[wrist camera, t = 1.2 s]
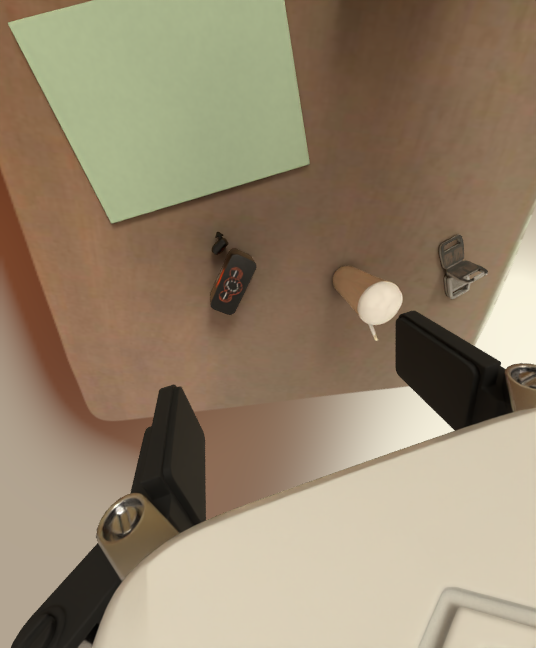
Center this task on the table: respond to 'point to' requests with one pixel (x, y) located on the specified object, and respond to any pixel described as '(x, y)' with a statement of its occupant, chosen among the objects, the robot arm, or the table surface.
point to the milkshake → (368, 295)
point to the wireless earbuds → (231, 278)
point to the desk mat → (169, 95)
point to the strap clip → (458, 268)
